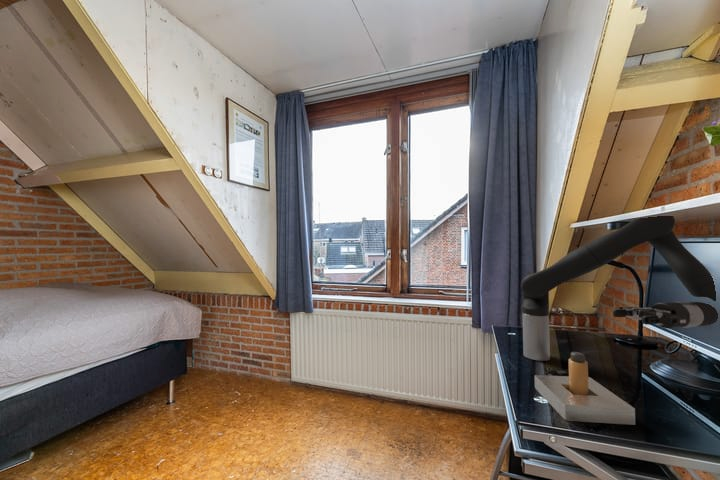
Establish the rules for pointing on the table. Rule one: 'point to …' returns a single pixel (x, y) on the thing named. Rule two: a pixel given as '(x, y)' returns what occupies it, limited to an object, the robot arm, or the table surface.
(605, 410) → the grey square-holed plate
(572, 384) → the plug
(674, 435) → the table surface
